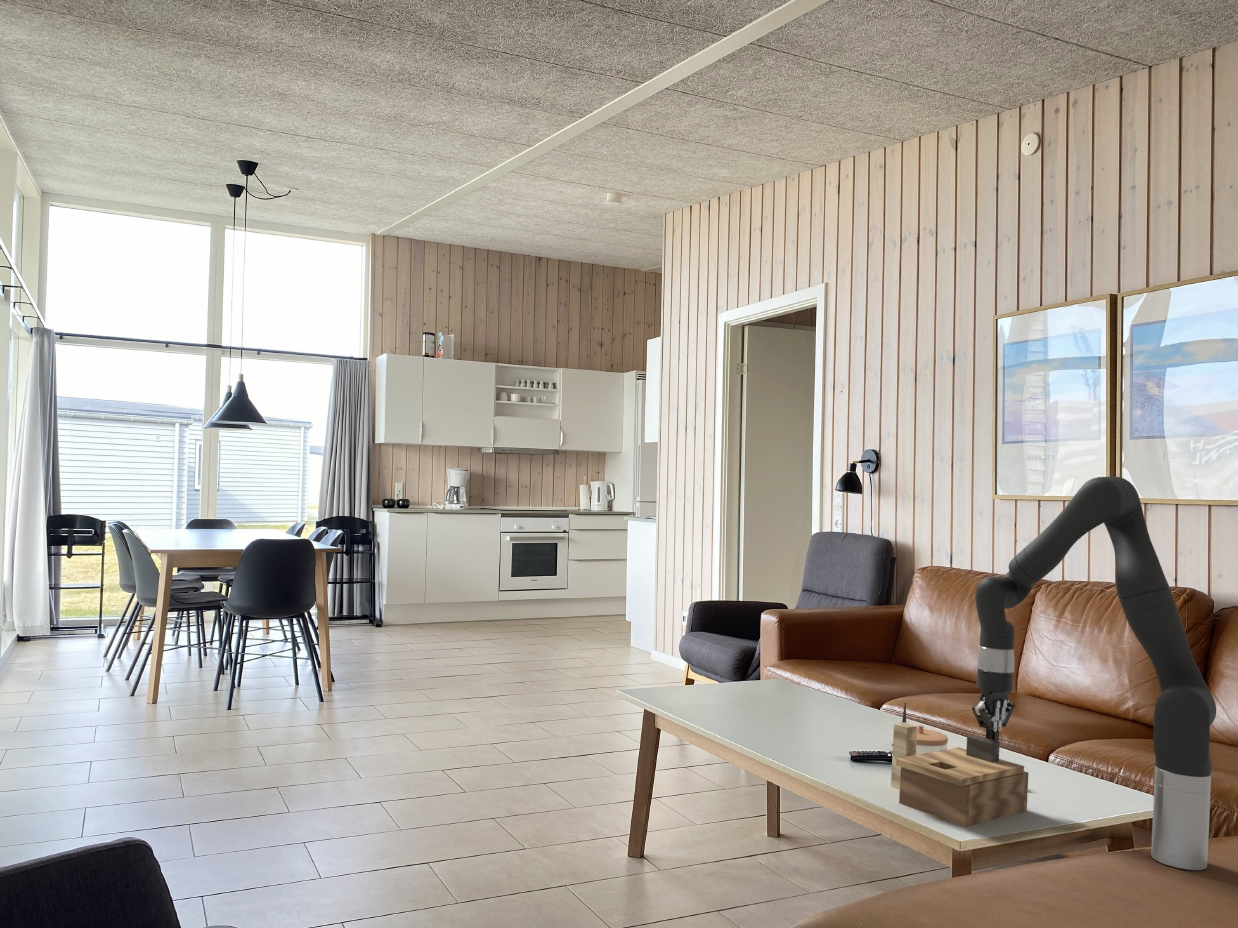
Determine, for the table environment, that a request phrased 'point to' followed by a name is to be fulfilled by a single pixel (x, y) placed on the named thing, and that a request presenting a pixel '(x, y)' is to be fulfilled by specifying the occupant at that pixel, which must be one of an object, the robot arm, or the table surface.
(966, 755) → the wooden box lid
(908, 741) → the key peg
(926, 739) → the lidded bowl
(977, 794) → the wooden rectangular box
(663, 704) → the table surface
